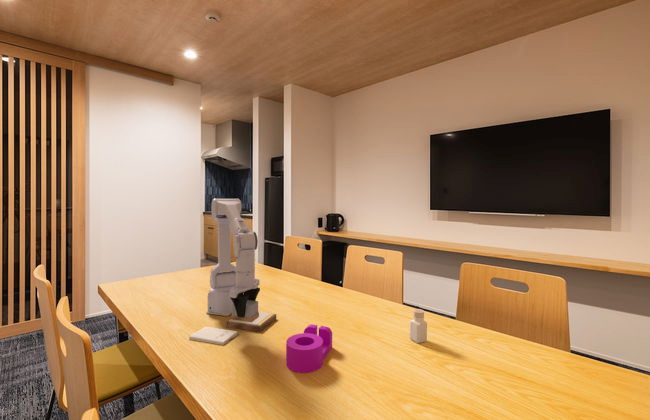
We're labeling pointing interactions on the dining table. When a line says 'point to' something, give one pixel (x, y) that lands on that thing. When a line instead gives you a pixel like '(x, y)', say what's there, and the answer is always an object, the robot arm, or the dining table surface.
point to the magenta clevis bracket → (308, 349)
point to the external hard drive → (213, 335)
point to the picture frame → (256, 325)
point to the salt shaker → (418, 327)
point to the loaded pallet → (247, 312)
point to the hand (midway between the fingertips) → (245, 313)
